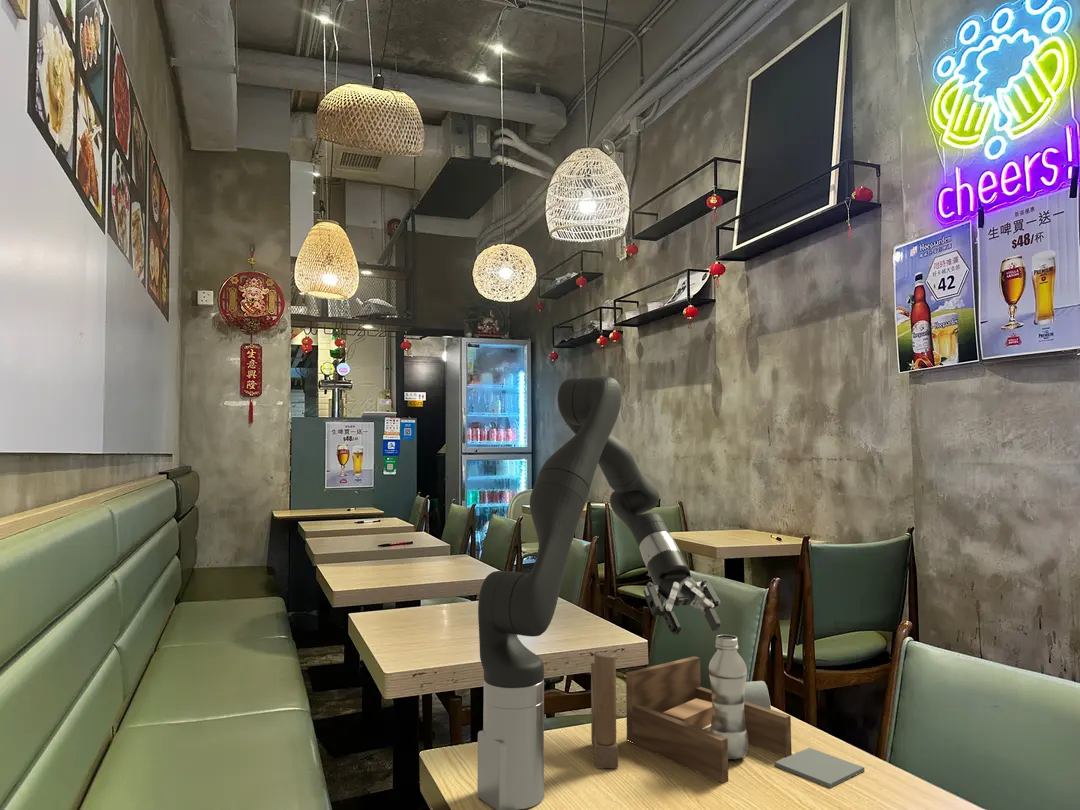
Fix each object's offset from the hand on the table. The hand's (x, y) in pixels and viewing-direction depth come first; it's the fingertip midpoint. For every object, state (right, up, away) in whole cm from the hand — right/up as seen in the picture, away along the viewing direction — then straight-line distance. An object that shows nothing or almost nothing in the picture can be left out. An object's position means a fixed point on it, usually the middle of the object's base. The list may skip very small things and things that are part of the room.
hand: (697, 630), depth 132 cm
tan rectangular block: (-2, -19, -3) cm, 20 cm away
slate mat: (+17, -18, -14) cm, 29 cm away
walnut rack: (+1, -19, -6) cm, 20 cm away
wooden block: (-18, -19, -9) cm, 28 cm away
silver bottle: (+3, -19, -10) cm, 21 cm away
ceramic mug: (+11, -20, +5) cm, 24 cm away
